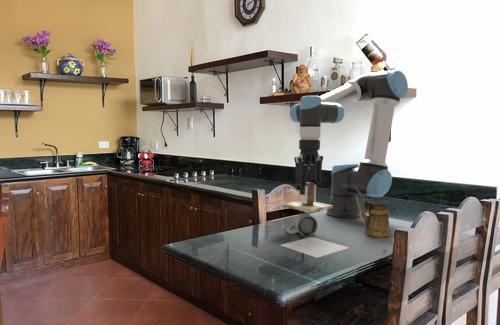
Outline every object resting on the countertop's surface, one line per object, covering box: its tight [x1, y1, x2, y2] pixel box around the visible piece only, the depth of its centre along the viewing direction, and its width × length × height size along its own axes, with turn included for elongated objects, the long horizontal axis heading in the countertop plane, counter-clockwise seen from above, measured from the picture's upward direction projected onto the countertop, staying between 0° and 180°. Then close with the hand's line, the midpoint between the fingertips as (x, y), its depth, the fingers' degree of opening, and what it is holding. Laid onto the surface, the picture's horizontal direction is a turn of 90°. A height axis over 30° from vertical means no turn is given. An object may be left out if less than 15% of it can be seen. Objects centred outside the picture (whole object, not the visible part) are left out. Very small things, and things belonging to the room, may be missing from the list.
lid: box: [282, 181, 333, 213], centre depth 147 cm, size 13×13×9 cm
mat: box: [280, 236, 350, 259], centre depth 131 cm, size 16×16×1 cm
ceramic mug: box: [286, 212, 319, 236], centre depth 148 cm, size 11×8×8 cm
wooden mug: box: [355, 186, 392, 238], centre depth 148 cm, size 9×14×18 cm, turn 82°
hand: (307, 202), depth 147 cm, fingers closed on lid, 4 cm apart
